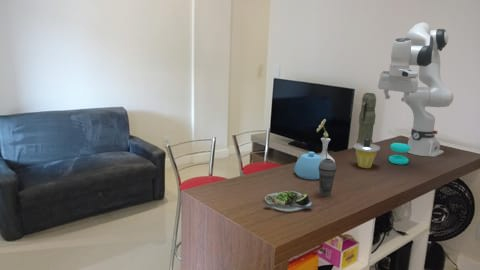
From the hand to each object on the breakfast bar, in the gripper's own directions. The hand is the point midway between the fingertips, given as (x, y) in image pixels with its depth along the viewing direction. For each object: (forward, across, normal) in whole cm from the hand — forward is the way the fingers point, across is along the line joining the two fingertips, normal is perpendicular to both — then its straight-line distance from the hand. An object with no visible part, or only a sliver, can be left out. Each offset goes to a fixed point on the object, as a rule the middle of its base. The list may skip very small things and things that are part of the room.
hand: (395, 100), depth 182 cm
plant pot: (+35, -6, -10) cm, 37 cm away
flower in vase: (+35, -18, -28) cm, 48 cm away
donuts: (+35, -2, +12) cm, 37 cm away
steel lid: (+25, -6, -10) cm, 28 cm away
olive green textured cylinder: (+35, -25, +10) cm, 44 cm away
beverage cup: (+35, +12, -55) cm, 66 cm away
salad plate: (+36, +12, -74) cm, 83 cm away
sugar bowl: (+35, -9, -45) cm, 58 cm away
